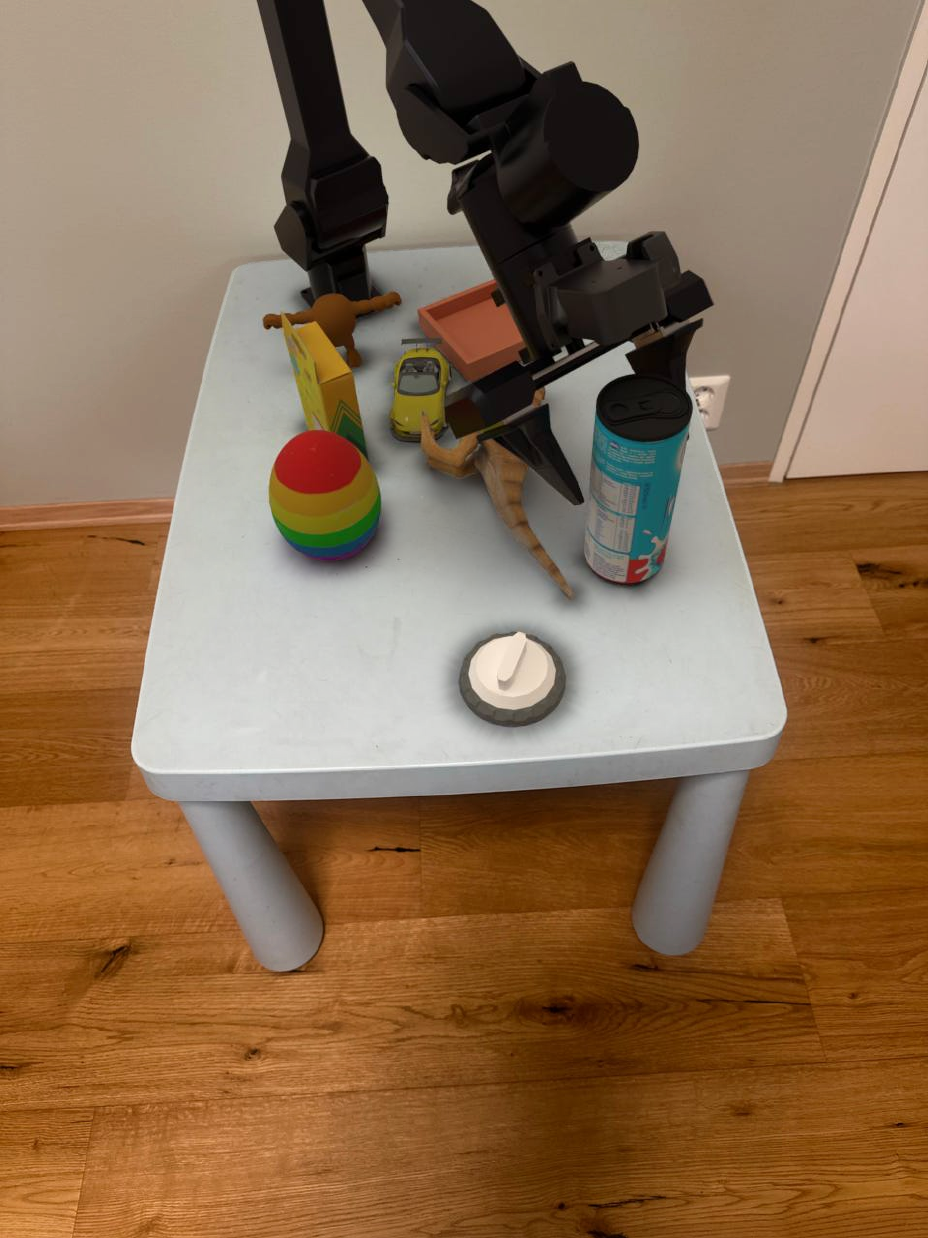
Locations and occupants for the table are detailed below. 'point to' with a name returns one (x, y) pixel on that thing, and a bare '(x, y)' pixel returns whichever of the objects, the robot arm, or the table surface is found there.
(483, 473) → the dinosaur figurine
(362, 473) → the decorative egg
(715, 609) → the table surface
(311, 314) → the toy figurine
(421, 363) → the toy car
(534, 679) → the stove knob
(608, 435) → the beverage can
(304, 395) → the crayon box
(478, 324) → the tray
